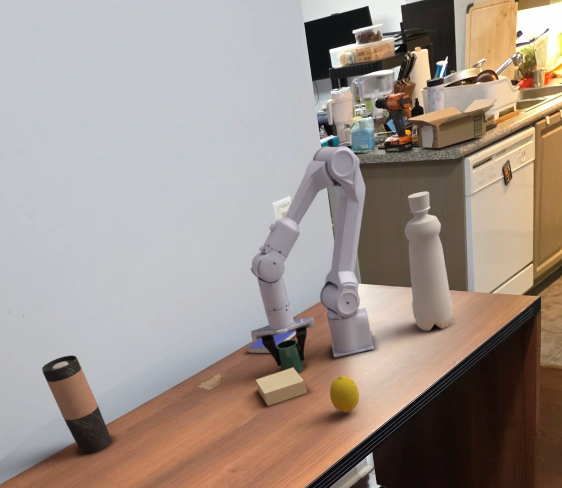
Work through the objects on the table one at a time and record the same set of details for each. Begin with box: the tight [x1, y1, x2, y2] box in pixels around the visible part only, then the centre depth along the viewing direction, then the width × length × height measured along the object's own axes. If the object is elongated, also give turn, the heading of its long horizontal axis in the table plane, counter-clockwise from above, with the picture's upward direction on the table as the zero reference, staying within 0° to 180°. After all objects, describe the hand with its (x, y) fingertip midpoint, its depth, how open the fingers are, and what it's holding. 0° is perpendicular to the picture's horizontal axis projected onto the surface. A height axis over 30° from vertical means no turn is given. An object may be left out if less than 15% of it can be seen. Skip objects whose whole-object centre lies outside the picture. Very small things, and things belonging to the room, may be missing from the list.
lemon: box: [329, 375, 360, 414], centre depth 127 cm, size 6×6×8 cm
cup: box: [276, 339, 305, 374], centre depth 152 cm, size 5×5×6 cm
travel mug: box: [41, 355, 112, 455], centre depth 139 cm, size 8×8×20 cm
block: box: [255, 368, 308, 407], centre depth 144 cm, size 9×9×3 cm
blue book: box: [247, 331, 296, 354], centre depth 172 cm, size 2×8×12 cm
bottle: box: [404, 191, 454, 332], centre depth 149 cm, size 9×9×30 cm
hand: (291, 361), depth 153 cm, fingers closed on cup, 5 cm apart
